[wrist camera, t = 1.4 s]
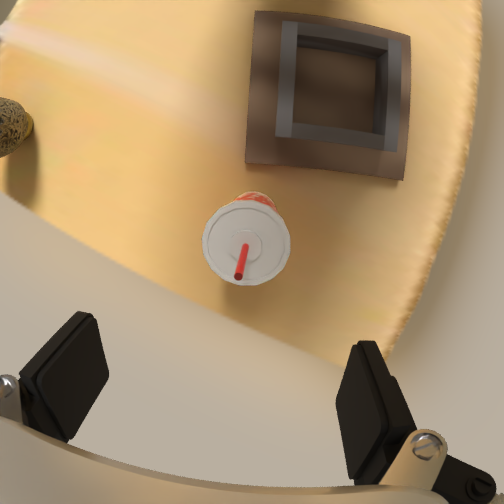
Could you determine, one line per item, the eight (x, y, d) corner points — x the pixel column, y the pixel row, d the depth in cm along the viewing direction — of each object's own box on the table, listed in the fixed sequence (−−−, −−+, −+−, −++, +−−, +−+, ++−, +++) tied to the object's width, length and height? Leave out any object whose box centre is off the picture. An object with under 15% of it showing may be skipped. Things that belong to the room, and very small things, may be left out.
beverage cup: (225, 178, 28) (186, 211, 15) (290, 188, 28) (307, 231, 15) (217, 240, 31) (179, 314, 18) (279, 249, 31) (283, 332, 18)
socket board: (255, 14, 23) (252, -5, 18) (406, 38, 22) (425, 26, 18) (245, 161, 28) (241, 165, 24) (399, 179, 27) (418, 186, 23)
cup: (17, 166, 29) (-28, 178, 21) (2, 119, 27) (-42, 123, 19) (53, 135, 27) (5, 139, 20) (37, 84, 25) (-10, 80, 18)
